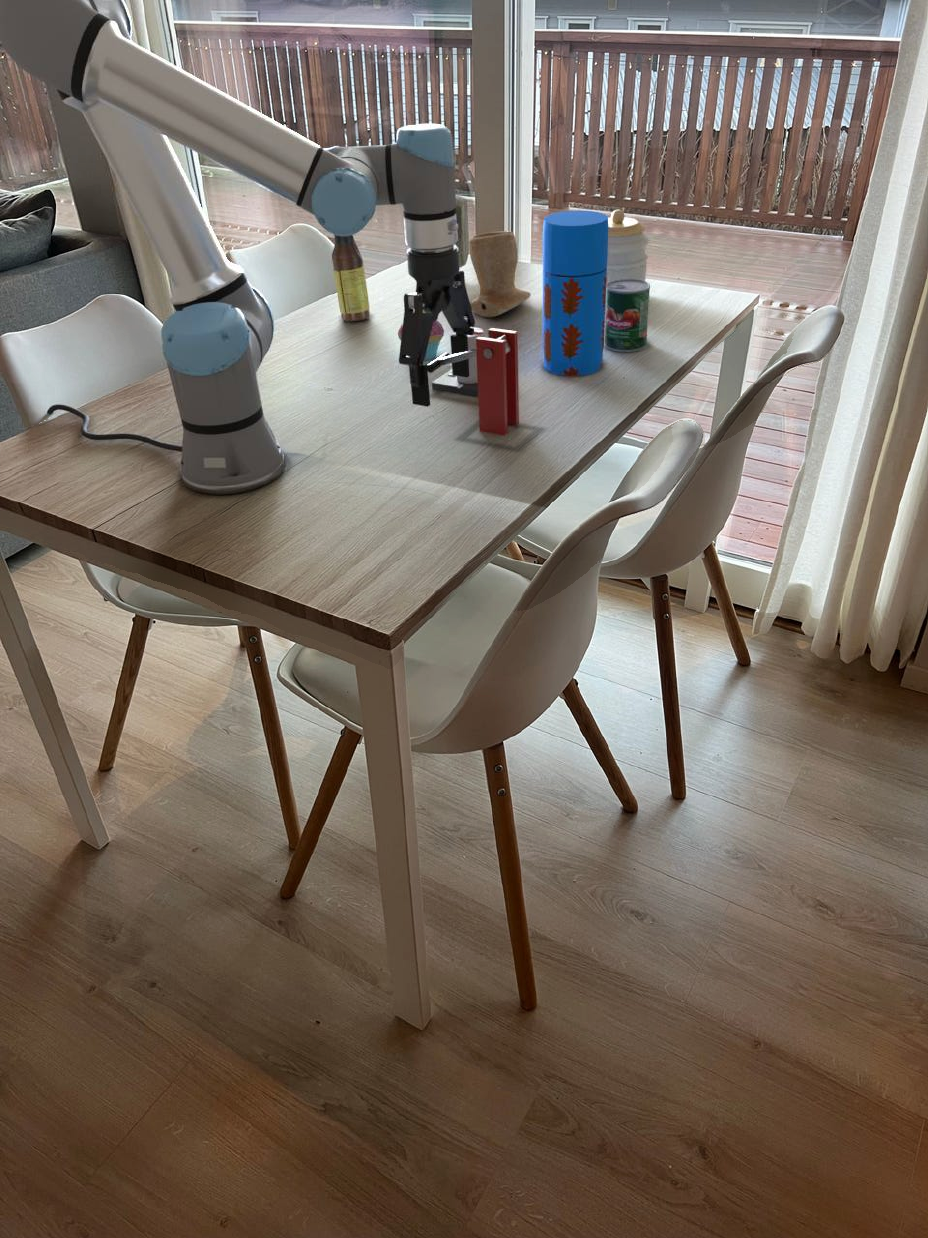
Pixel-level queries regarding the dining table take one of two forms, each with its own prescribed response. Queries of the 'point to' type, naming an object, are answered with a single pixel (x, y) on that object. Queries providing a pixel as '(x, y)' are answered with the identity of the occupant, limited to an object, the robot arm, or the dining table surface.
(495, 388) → the red lever stand
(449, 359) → the lever
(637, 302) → the canned tomato
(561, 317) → the thermos
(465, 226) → the tabletop clock
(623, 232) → the jar
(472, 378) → the knob
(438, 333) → the cupcake
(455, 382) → the dial panel
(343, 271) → the sauce bottle
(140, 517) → the dining table surface
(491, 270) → the tan piece
